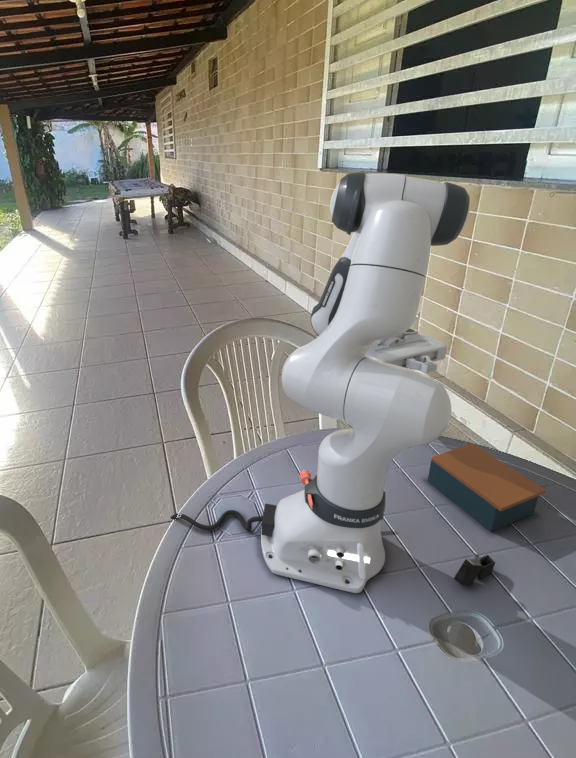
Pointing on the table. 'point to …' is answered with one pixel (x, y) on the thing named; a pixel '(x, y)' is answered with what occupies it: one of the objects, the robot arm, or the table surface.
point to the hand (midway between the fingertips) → (432, 369)
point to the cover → (488, 476)
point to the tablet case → (477, 501)
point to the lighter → (474, 569)
